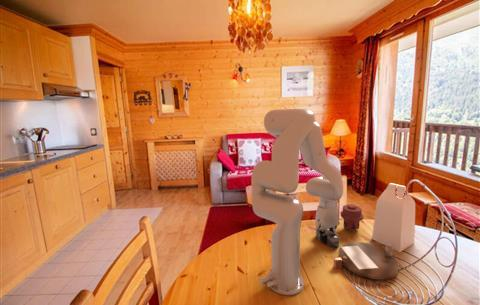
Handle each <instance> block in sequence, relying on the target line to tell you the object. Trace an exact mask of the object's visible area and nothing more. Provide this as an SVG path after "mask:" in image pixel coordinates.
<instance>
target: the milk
mask: <svg viewBox="0 0 480 305" xmlns="http://www.w3.org/2000/svg"><path fill="white" fill-rule="evenodd" d="M395 185H397V186H398V187H397V191H396V194H397V196H398V197H399V198H402V197H403V196H404V193H405V191H406V189H407V186H406V185H401V184H397V183H393V182H390V183H389V184H388V185H387V187H386V189H384V191H383V192H382V193H381V194H380V195H379V197H378V198H377V201H376V205H375V212H374V222H373V230H372V237H371V240H373V241H376V242H377V243H380V244H381V245H385V246H386V244H387V243H389V244H392V245H393V250H395V251H398V252H401V253H402V251H404V250H405V249H408V248H409V247H410V246H412V245H414V244H415V233H416V232H415V231H416V202H415V200H414V198H412V196H411V195H410V193H409V191H407V195H406V197H405V199H397V198H396V197H395Z"/></svg>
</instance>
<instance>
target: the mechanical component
mask: <svg viewBox="0 0 480 305" xmlns="http://www.w3.org/2000/svg"><path fill="white" fill-rule="evenodd" d="M362 210H363V208H362V207H361V206H359V205H356V204H351V203H350V204H345V205H343V206H342V211H340V217H341V218H342V219H343V224H342V225H343V228H344V229H345V230H348V231H349V232H350V233H352V234H353V233H355V231H357V230H359V229H360V222H361V221H363V220H364V214H363V213H362V212H363V211H362Z"/></svg>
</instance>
